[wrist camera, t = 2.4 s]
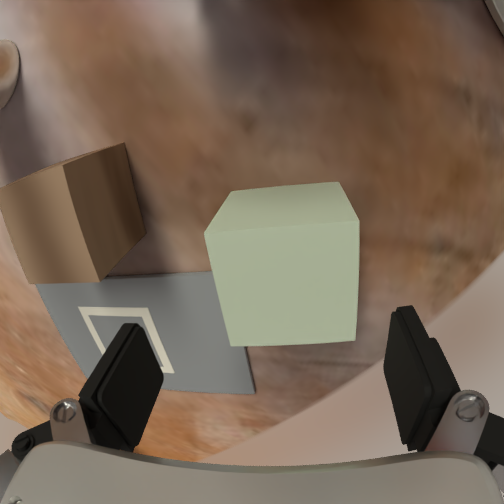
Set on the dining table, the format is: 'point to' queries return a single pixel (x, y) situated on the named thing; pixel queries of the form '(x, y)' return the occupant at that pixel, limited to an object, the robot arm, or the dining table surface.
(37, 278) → the walnut block
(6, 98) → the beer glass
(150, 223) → the dining table surface
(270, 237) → the sage block
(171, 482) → the robot arm
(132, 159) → the dining table surface
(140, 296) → the felt mat
